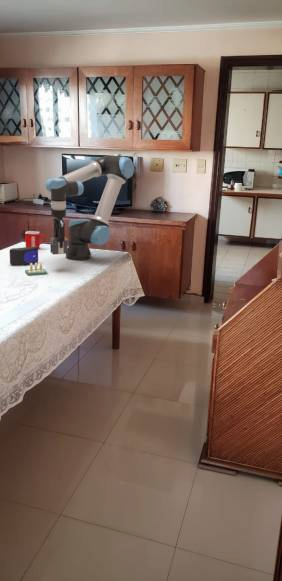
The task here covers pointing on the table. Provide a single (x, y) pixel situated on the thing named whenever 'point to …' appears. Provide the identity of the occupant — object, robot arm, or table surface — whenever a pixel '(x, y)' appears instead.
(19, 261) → the computer mouse
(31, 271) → the header
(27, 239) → the mug
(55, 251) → the gray orange-striped box
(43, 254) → the table surface
